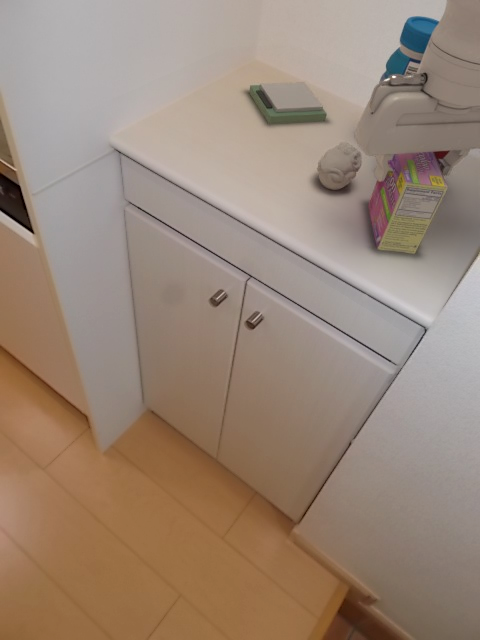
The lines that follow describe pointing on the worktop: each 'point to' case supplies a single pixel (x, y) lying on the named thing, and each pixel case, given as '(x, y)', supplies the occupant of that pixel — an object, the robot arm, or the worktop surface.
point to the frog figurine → (339, 166)
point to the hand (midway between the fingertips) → (411, 176)
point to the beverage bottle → (410, 46)
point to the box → (406, 201)
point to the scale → (287, 102)
